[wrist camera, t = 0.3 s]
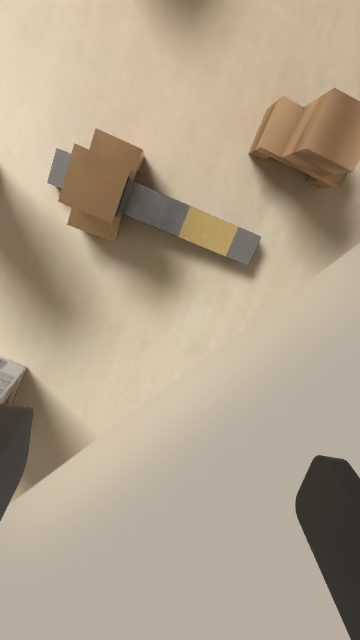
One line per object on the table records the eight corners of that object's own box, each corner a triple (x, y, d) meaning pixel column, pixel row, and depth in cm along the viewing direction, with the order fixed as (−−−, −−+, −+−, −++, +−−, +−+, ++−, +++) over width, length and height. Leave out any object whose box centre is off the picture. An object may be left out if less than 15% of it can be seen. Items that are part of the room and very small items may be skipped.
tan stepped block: (340, 145, 33) (406, 125, 24) (319, 188, 34) (375, 182, 25) (267, 108, 31) (310, 72, 23) (248, 153, 32) (281, 135, 24)
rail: (70, 122, 30) (37, 91, 22) (266, 211, 34) (303, 213, 26) (46, 209, 33) (8, 212, 24) (232, 284, 36) (256, 308, 28)
